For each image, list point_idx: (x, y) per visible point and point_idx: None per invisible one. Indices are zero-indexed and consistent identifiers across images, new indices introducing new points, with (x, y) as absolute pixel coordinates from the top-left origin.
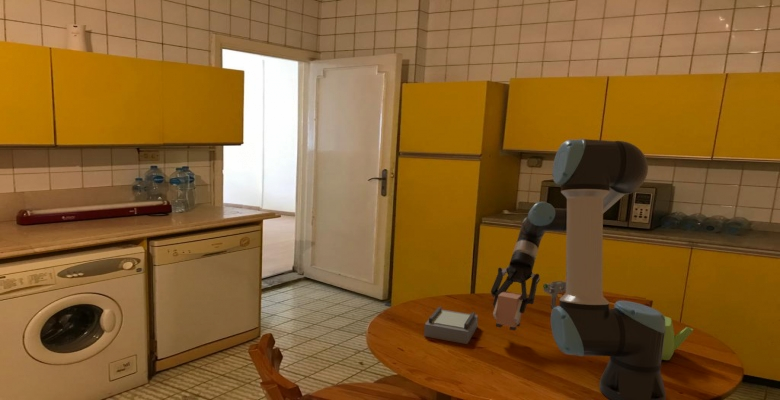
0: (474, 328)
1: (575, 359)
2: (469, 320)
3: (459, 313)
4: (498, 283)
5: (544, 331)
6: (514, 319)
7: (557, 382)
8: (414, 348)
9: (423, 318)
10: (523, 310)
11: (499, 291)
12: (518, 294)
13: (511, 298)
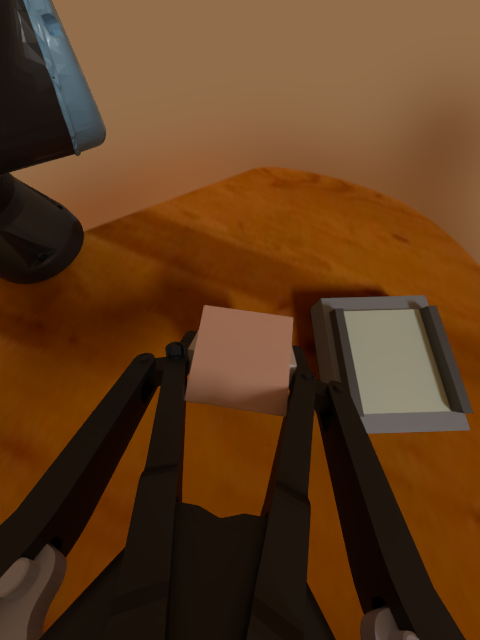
0: (324, 381)
1: (101, 334)
2: (341, 339)
3: (396, 421)
4: (344, 457)
5: None
6: None
7: (144, 235)
8: (383, 249)
9: (467, 414)
10: (187, 334)
11: (304, 389)
12: (204, 387)
13: (229, 309)
